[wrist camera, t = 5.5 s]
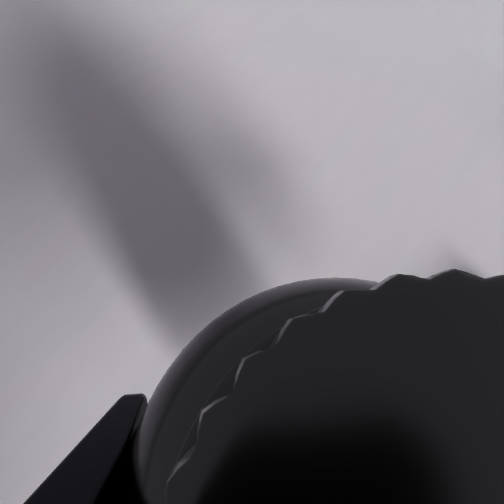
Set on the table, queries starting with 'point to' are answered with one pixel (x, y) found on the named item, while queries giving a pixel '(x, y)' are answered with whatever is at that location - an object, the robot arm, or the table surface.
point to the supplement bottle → (334, 399)
